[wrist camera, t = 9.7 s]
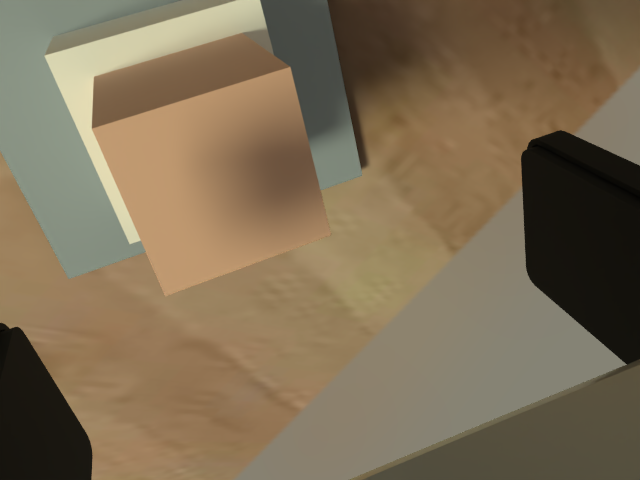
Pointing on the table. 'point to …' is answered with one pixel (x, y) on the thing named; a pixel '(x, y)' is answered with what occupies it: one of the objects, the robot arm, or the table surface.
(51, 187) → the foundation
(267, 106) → the terracotta block
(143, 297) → the table surface
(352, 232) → the table surface
